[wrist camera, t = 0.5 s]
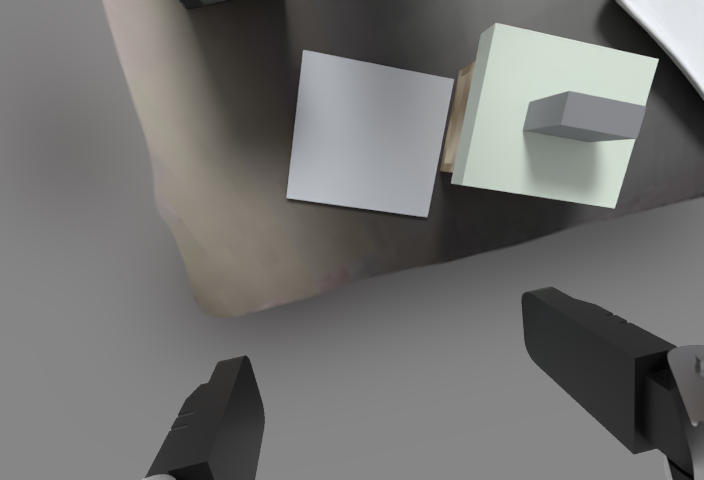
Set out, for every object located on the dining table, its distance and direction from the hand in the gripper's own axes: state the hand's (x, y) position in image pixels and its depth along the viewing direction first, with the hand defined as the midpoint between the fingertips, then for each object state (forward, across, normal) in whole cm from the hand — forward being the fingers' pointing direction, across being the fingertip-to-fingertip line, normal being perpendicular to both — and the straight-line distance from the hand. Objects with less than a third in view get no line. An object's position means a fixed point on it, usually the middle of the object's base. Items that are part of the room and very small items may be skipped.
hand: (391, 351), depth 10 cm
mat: (+28, -5, -6) cm, 29 cm away
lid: (+22, -19, -5) cm, 29 cm away
